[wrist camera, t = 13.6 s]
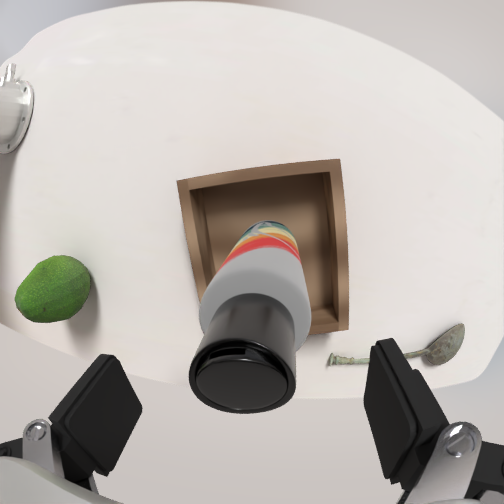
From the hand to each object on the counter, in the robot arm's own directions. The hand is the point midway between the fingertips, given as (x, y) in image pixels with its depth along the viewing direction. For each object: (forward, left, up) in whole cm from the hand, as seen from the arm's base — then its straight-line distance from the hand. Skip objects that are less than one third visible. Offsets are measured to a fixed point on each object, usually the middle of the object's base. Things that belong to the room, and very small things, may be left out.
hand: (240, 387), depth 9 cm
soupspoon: (+16, +17, -21) cm, 32 cm away
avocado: (+1, -26, -21) cm, 33 cm away
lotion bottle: (0, 0, -20) cm, 20 cm away
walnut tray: (0, 0, -20) cm, 20 cm away
